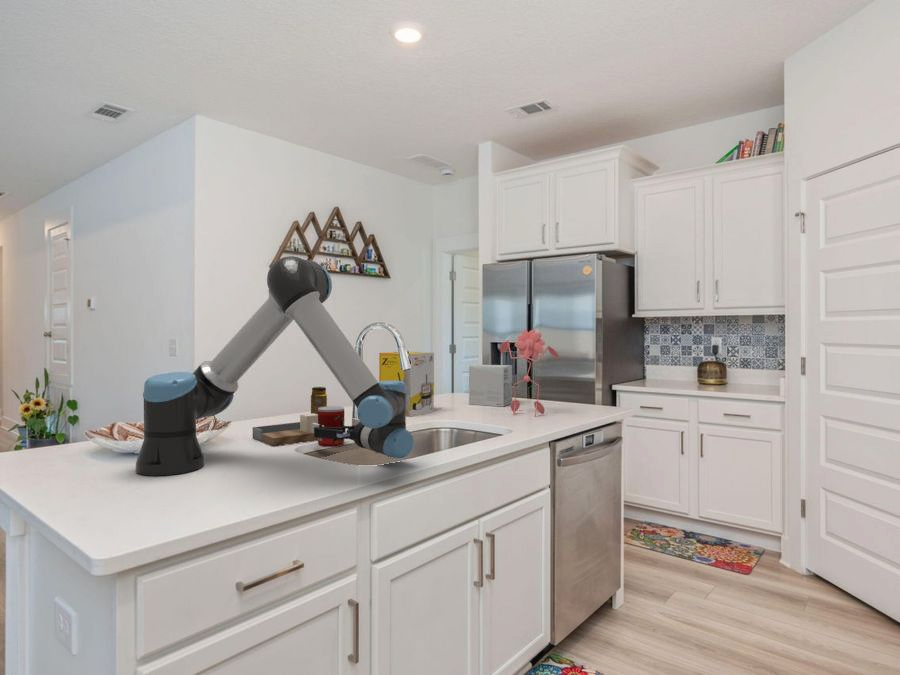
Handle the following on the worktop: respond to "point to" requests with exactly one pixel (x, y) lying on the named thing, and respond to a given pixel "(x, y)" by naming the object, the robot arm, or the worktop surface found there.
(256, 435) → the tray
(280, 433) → the board
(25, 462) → the worktop surface
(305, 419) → the off-white block
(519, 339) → the pink wire stick figure
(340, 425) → the canned food
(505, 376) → the supplement box
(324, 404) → the condiment
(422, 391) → the packaging box
